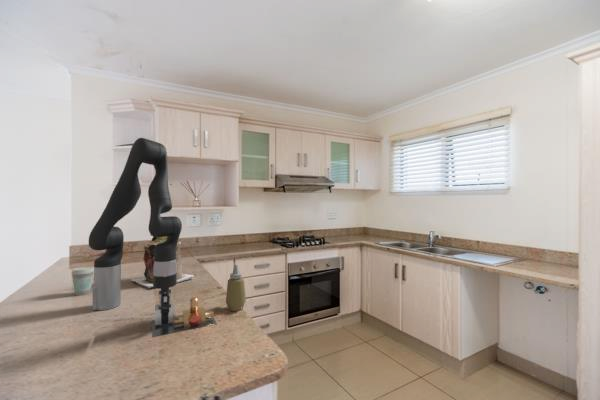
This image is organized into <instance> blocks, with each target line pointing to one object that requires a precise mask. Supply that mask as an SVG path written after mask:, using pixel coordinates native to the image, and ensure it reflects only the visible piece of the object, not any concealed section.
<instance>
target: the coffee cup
mask: <svg viewBox="0 0 600 400" xmlns="http://www.w3.org/2000/svg"><path fill="white" fill-rule="evenodd" d="M71 276H72V283H73V290H74V292H73V293H74V295H75V296H85V295H88V294H90V293H91V291H92V284H93V279H94V266H81V267H76V268H73V269H72V271H71Z"/></svg>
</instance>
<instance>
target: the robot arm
mask: <svg viewBox="0 0 600 400" xmlns="http://www.w3.org/2000/svg"><path fill="white" fill-rule="evenodd" d="M142 164H147V165H150V166H151V165H152V166H153V167H154V173H155V174H154V177H153V179H152V181H151V182H150V185H149V186H148V191H147V195H148V201H149V206H150V207H149V208H150V215H149V221H148V232H149V234H150V236H151V235H152V237H153V236H154V237H164V236H168V238H167V240H166V241H165V242H162V243H159V244H157V245H156V246H155V248H154V266H153V287H152V288H154V289H160V290H158V300H159V303H158V304H159V306H160V307H161V324H167V323H168V314H169V311H170V310H169V305H170V303H171V297H172V289H171V288H173V287H175V286H176V285H177V283H178V282H177V263H176V247H177V243H178V242H179V239H180V237H181V232H182V226H183V225H182V224H183V223H182V221H181V219H180V217H178V216H176V215H175V216H174V215H172V216H170V215H169V216H161V215H162V214H166V213H168V212H170V211H171V210H172V208H173V204H172V203H173V202H172V199H171V194H170V190H169V180H168V179H169V178H168V177H169V175H168V172H169V170H168V152H167V149H166V147H165V145H164V144H162V143H160V142H157V141H154V140H151V139H147V138H145V137H138V138H137V139H136V140H135V141H134V142H133V144H132V146H131V149H130V152H129V154H128V156H127V160H126V162H125V166H124V168H123V170H122V172H121V174H120V178H119V179H118V181H117V183H116V184H115V187H114V189H113V191H112V192H111V195H110V197H109V199H108V202H107V204H106V206H105V208H104V210H103V212H102V213H101V215H100V216H99V219H98V220H97V221H96V223H95V225H94V226H93V228H92V229H91V231H90V233H89V236H88V246H89V248H90V249H92V250H94V251H104V250H105V252H104V253H103V254H102V255H100V256H99V257H97V258H95V259H94V262H93V269H94V272H93V286H92V311H105V310H109V309H110V310H111V309H114V308H117V307H118V306H120V305H121V303H122V302H121V300H122V298H121V297H122V295H121V294H122V293H121V292H122V286H121V285H122V280H121V279H122V278H121V277H122V259H123V255H124V240H125V239H124V233H123V230H122V228H120V227H119V226H115V225H116V224H117V223H118V222H119V221H120V220H122V219H123V218H124V217H125V216H127V215H128V214H130V212H131V211H133V210H134V208H136V205H137V203H138V201H139V199H140V197H141V195H142V188H141V184H140V180H139V170H140V167H141V165H142ZM163 307H167V309H165V310H163Z"/></svg>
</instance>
